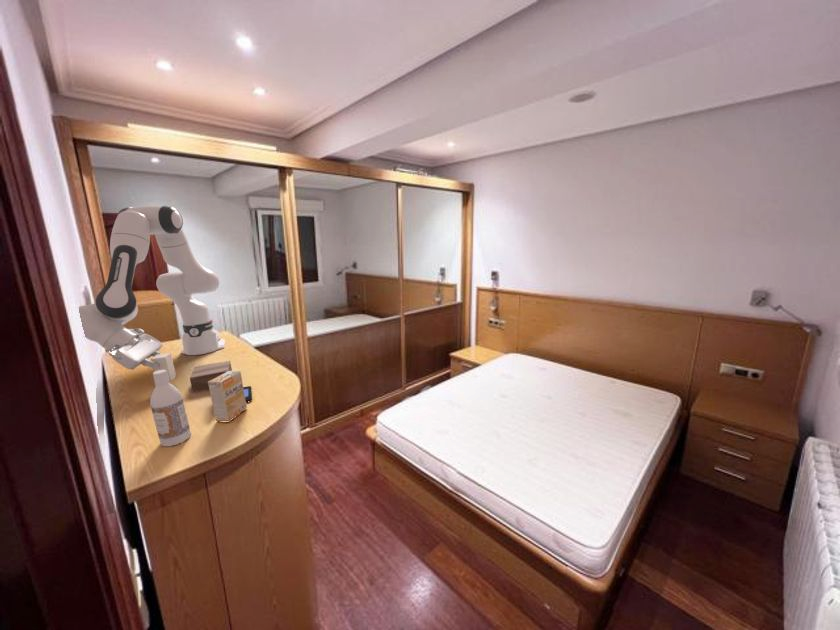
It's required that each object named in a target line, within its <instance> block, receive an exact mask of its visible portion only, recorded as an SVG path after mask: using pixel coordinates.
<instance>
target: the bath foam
mask: <svg viewBox="0 0 840 630" xmlns="http://www.w3.org/2000/svg"><path fill="white" fill-rule="evenodd" d="M152 377H153V380H154V381H153V382H154V384H155V387H154V389H153V390H152V392H151V393H152V394H151V395H150V399H149V400H150V401H149V402H150V403H149V404H150V405H149V406H150V409H151V413H152V417H153V421H154V425H155V427H156V432H157V436H158V439H159V444H160V445H161V446H163V447H174V446H177V445H180V444H183V443H184V442H185V440H186V439H187V440H188V439H189V438H190V437H191V434H192V433H191V432H192V431H191V428H190V424H189V419H188V415H187V411H186V407H185V402H184V399H183V395H182V393H181V391H180V390H179V389H178V387H176V386H175V385H173V384H172V383H171V382H170V381H169V379H168V375H167V371H166V370H158V371H155V372H154V371H153V373H152ZM187 440H186V441H187ZM183 441H184V442H183ZM179 443H180V444H179ZM173 445H174V446H173Z"/></svg>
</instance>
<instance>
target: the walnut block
mask: <svg viewBox="0 0 840 630" xmlns="http://www.w3.org/2000/svg"><path fill="white" fill-rule="evenodd" d="M227 371H233V368H232V364H231V360H225V361H220V362H215V363H209V364H203V365H198V366H194V368H193V371H192V372H191V375H190V376H189V382H190V385H191V389H192V394H195V393H200V392H204V391H205V392H206V391H210V390H209V385H208V381H210V380H212V379H214V377H218V376H220V375H222V374H224V373H225V372H227Z"/></svg>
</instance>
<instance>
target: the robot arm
mask: <svg viewBox="0 0 840 630" xmlns="http://www.w3.org/2000/svg"><path fill="white" fill-rule="evenodd" d="M183 225H184V221H183V217H182V214H181V213H180V212H179V211H178V210H177V209H176V208H175V207H174V206H173V207H172V206H167V205H163V206H161V205H160V206H159V205H145V206H143V205H142V206H135V207H134V206H129V207H123V208H122V209H120V210H119V211H118V213H117V215H116V219H115V221H114V223H113V227H112V230H111V235H110V240H109V251H110V252H109V253H110V259H111V263H110V267H109V272H108V278H107V281H106V284H105V285H104V287H103V288H101V290H100V291H99V292H98V294H97V296H96V298H95V302H94V303H91V304H87V305H80V306H78V307H79V313H80V318H81V322H82V327H83V330H84V334H85V337H86V338H85V337H84V338H85V339H87V340H89V341H91V342H95V343H97V344H99V346H101V347H102V348H104V349H106V350H107V352H108V355H109V356H110V357H111V358H112V359H113V360H114V361H115V362H116V363H117V364H119V365H121V366H122V367H123V368H125V369H127V370H131V371H133V370H135V369H136V368H137V367H139V366H140V365H142V366H144V367H148V368H152V369H153V370H154V369H157V368H158V367H159V366H160V364H159V363H157V362H152V361H151V360H150V358H153V357H154V356H155V355H158V354H162V352H161V351H160V349H161V348H162V347H163V346H164V345H163V344H162V342H161V341H160V340H159V339H156V338H155V337H153V336H152V335H150V334H148V333H145V330H143V329H142V328H127V326H125V325H126V324H128V323H129V322H131V321H132V320H133V319H135V317H137V316H138V312H139V307H138V303H137V299H136V296H135V292H134V291H133V281H134V276H135V270H136V266H137V265H138V264H140V263H143V262H144V261H145V260H146V257H147V256H148V253H149V249H150V244H151V236H154V237H155V239H156V243H157V247H158V248H159V251H160V253H161V255H162V258H163V261H164V262H165V263H166V264H167V265H168V266H171V267H174V268H176V269H178V271H170V272H166V273H163V274H160V275H159V276H158V277H157V279H156V283H155V285H156V288H157V290H158V292H160V293H161V294H162V295H164V296H166V297H167V298H169V299H171V300H172V301H173V303H174V304H175V305H176V306H177V308H178V310H179V313H180V315H181V319H182V320H181V321H182V330H183V333H184V334H183V335H182V336H181V343H182V348H183V349H182V350H181V351H180V354H182V355H187V356H199V355H204V354H209V353H213V352H215V351H219V350H221V349H224V348H225V346H226V344H225V343H226V338H221V337H220V332H219V331H218V330H217V329H215V328H214V324H213V322H214V321H213V319H211V318H210V314H209V308H208V306H207V304H206V303H204V302H202V301H199V300H198V299H196V298H195V297H194V295H200V294H201V295H202V294H203V295H205V294H207V293H212V292H216V290H217V289H218V288H219V286H220V279H219V276H218V275H217V273H216V272H214V271H212V270H211V269H208V268H207V267H205V266H204V265H202V264H201V263H200V262H199V261H198V260H197V258H196V257H195V255H194V252H193V250H192V248H191V246H190V243H189V240H188V237H187V235H186V233H185V231H184V229H183Z"/></svg>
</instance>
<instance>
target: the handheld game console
mask: <svg viewBox="0 0 840 630" xmlns="http://www.w3.org/2000/svg"><path fill="white" fill-rule="evenodd" d="M214 378H216V377H214ZM243 389H244V394H245V400H246V402H247V403H249V402H248V401H250V402H252V401H253V391H251V390H252V387H251V385H247V386H243ZM251 400H252V401H251Z"/></svg>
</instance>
